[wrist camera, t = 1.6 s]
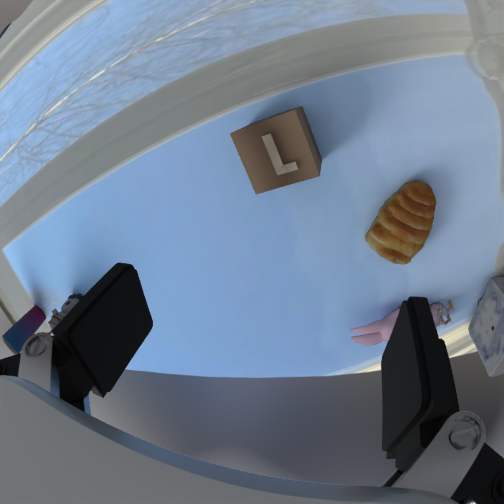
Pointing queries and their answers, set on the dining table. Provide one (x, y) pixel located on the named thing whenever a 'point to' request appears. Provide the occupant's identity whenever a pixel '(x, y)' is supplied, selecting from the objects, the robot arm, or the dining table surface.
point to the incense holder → (490, 327)
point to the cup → (23, 329)
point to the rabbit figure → (385, 326)
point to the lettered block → (278, 150)
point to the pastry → (403, 223)
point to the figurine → (63, 311)
